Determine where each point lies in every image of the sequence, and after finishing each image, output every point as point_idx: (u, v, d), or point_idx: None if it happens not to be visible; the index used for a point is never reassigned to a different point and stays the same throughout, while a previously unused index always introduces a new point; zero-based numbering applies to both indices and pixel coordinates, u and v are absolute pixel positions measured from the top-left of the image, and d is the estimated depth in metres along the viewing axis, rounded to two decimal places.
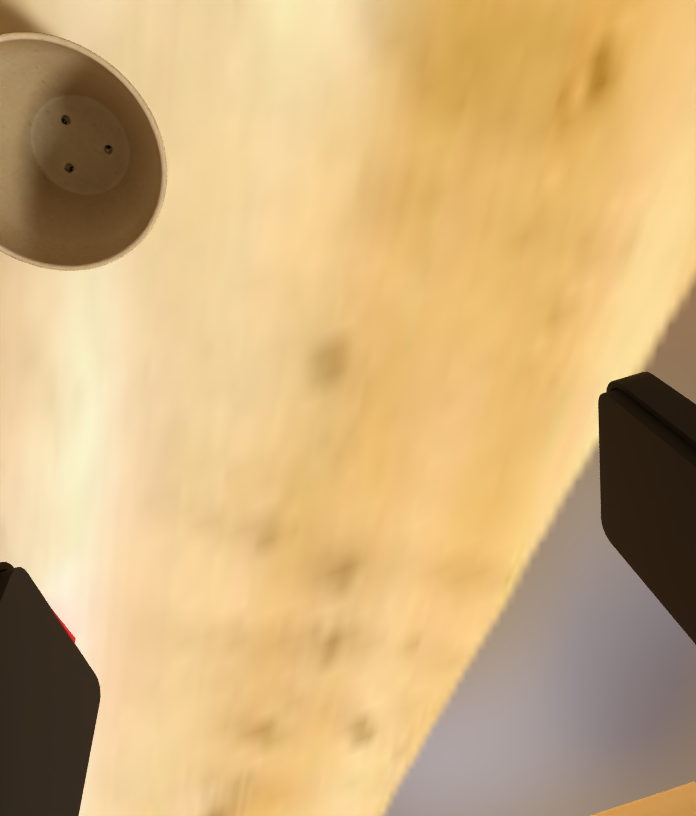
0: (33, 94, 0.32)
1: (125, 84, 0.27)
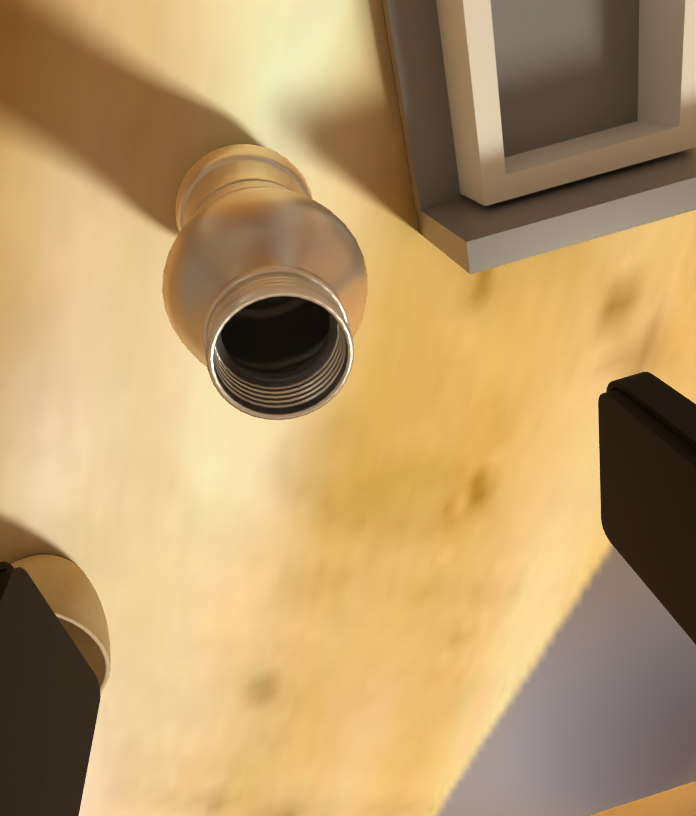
0: None
1: (74, 623, 0.35)
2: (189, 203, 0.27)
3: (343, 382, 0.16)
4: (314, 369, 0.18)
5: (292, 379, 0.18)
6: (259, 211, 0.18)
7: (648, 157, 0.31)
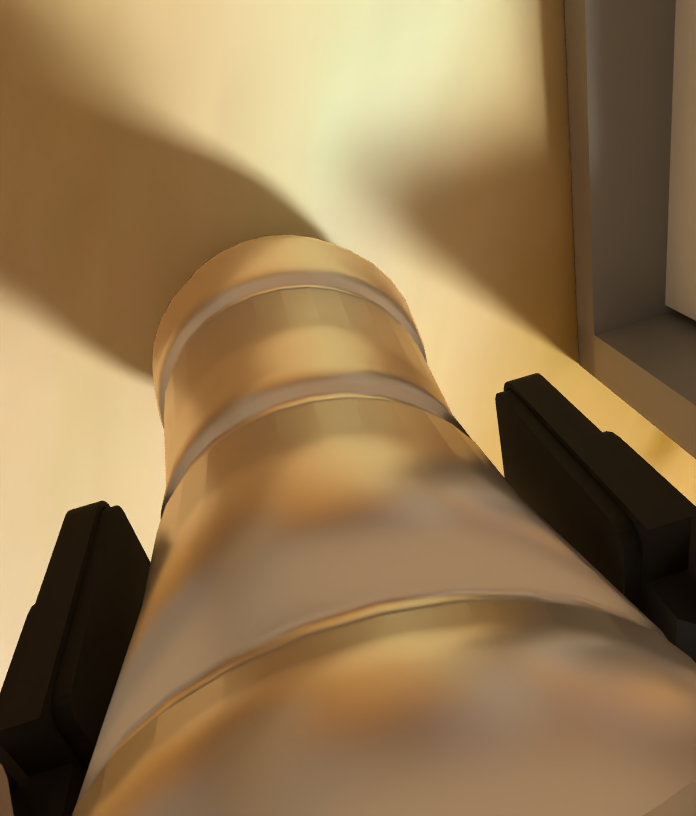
0: None
1: None
2: (175, 391, 0.12)
3: None
4: None
5: None
6: None
7: None
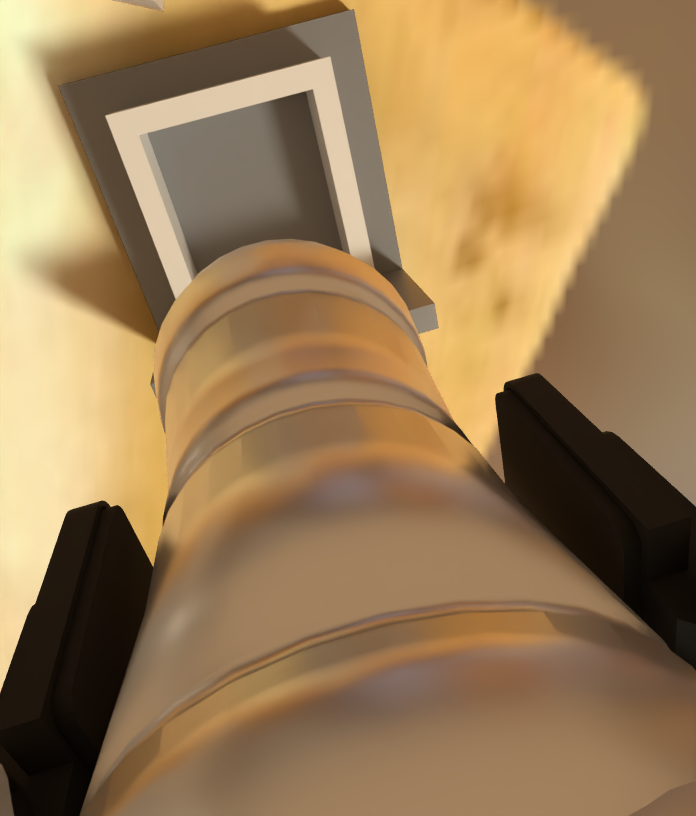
0: None
1: None
2: (176, 396, 0.12)
3: None
4: None
5: None
6: None
7: None
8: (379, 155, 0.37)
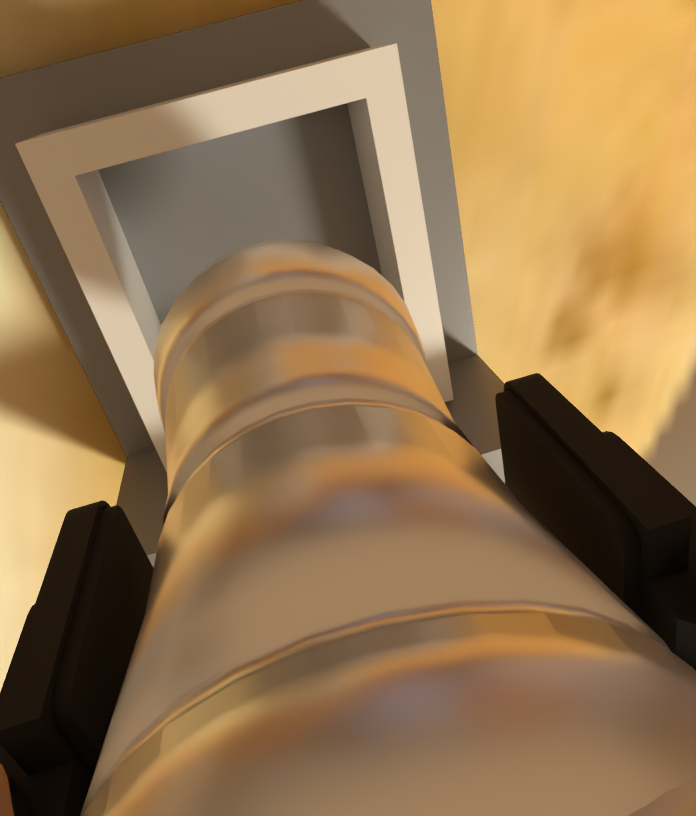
0: None
1: None
2: (176, 396, 0.12)
3: None
4: None
5: None
6: None
7: None
8: (454, 196, 0.24)
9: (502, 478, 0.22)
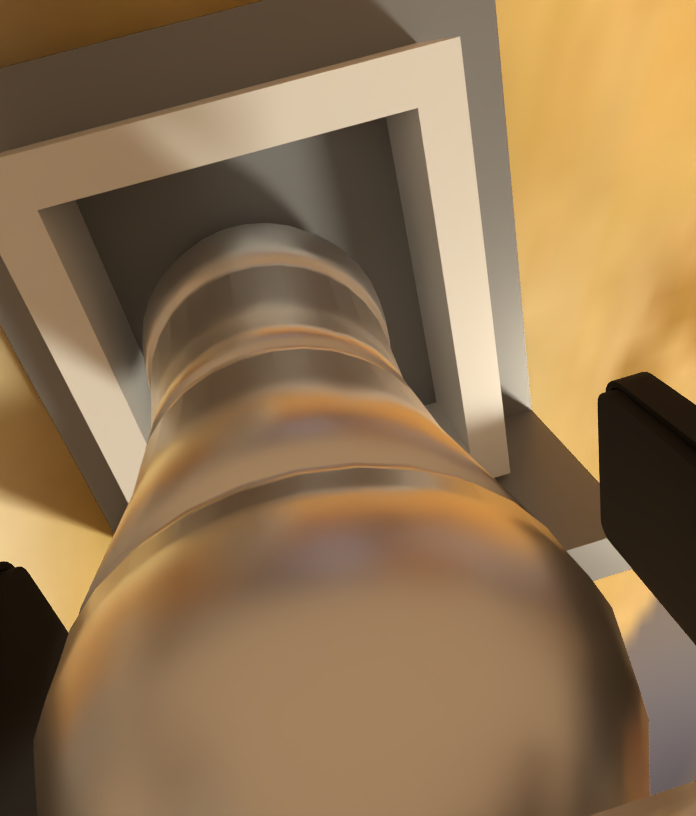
0: None
1: None
2: (160, 354, 0.14)
3: None
4: None
5: None
6: (356, 653, 0.05)
7: None
8: (511, 225, 0.20)
9: None
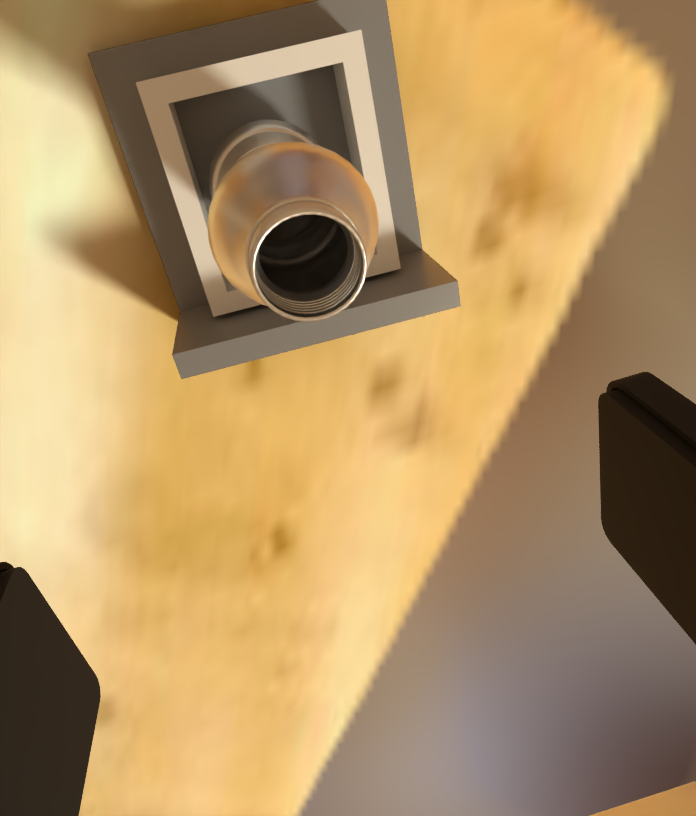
0: None
1: None
2: (224, 166, 0.31)
3: (358, 292, 0.20)
4: (333, 287, 0.22)
5: (315, 295, 0.22)
6: (292, 157, 0.22)
7: None
8: (403, 134, 0.37)
9: (427, 311, 0.35)
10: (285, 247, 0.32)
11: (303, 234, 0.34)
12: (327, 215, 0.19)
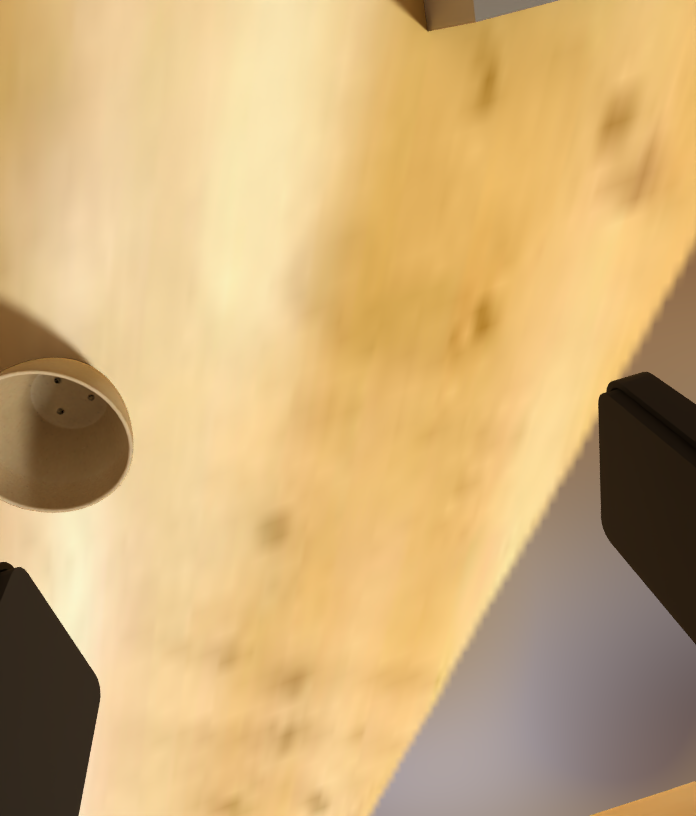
0: None
1: (100, 396, 0.37)
2: None
3: None
4: None
5: None
6: None
7: None
8: None
9: None
10: None
11: None
12: None
